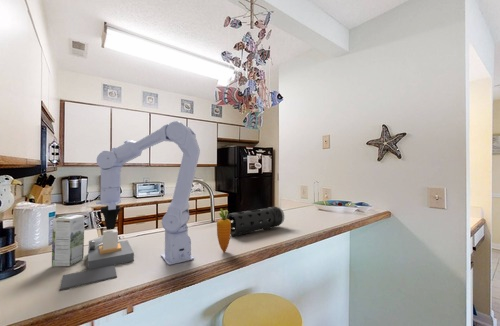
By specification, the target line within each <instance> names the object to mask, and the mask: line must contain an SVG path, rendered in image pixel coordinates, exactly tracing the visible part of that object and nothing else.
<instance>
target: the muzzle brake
mask: <svg viewBox="0 0 500 326" xmlns="http://www.w3.org/2000/svg"><path fill="white" fill-rule="evenodd" d="M226 219H229V220H230V221H231V234H230V237H237V236H242V235H246V234H251V233H255V232H256V231H259V230H263V231H268V230H271V228H276V227H280V225H282V224H283V223H284V220H285V213H284V211H283V209H282V208H280V207H278V206H269V207H266V208H260V209H253V210H246V211H245V210H244V211H238V212H230V213H227V217H226Z"/></svg>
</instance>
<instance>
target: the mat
mask: <svg viewBox="0 0 500 326" xmlns="http://www.w3.org/2000/svg"><path fill="white" fill-rule="evenodd" d="M117 275H118V274H117V270H116V266H115V265H110V266H105V267H100V268H95V269H91V270H88V269H87V270H80V271H76V272H72V273H67V274H63V275H62V278H61V282H60V286H59V291H64V290H65V291H66V290H68V289H73V288H77V287H83V286H85V285H90V284H94V283H95V284H96V283H99V282H103V281H106V280H107V281H108V280H111V279H115V278H118V276H117Z"/></svg>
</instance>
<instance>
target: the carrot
mask: <svg viewBox="0 0 500 326" xmlns="http://www.w3.org/2000/svg"><path fill="white" fill-rule="evenodd" d="M219 210H220V212H219V213H218V215H219V216H220V219H218V220H217V221H216V233H217V234H216V235H217V240H218V244H219V247H220V249H221V251H222V252H223V253H225V252H226V251H227V250H228V247H229V243H230V240H231V223H232V221H230V220H229V219H226V217H227V215H228V214H229V211H228V210H227V209H225V210H223V208H220V209H219Z"/></svg>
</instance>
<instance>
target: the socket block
mask: <svg viewBox="0 0 500 326" xmlns="http://www.w3.org/2000/svg"><path fill="white" fill-rule="evenodd" d="M118 243H120V245H121V250H120V251H114V252H109V253H103V254H100V252H99V246H103V243H101V244H99V245H97V246H95V249H94V250H89V246H88V249H87V253H88V254H87V270H91V269H95V268H100V267H105V266H110V265H114V266H115V265H120V264H124V263H125V264H126V263H129V262H134V261H135V251H134V250H133V248H132V246H131V245H130V243H129V241H128V240H127V239H126V240H120V241H118Z"/></svg>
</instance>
